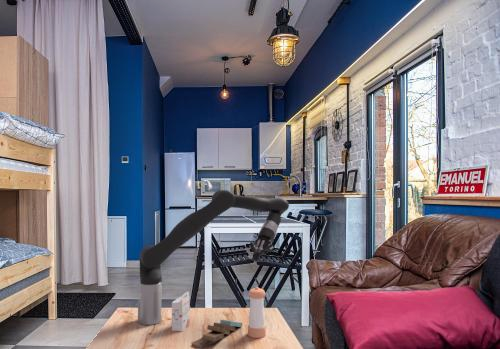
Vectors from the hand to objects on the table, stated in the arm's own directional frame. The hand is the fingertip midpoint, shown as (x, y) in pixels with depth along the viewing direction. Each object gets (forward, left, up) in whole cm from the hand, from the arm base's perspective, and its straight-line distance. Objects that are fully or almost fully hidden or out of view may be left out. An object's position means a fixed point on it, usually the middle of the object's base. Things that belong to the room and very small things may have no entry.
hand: (254, 260), depth 177 cm
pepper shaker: (+7, -20, -26) cm, 33 cm away
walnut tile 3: (-6, -23, -25) cm, 34 cm away
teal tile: (-4, -13, -25) cm, 28 cm away
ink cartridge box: (-26, -23, -26) cm, 43 cm away
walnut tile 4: (-6, -28, -24) cm, 38 cm away
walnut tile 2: (-5, -18, -25) cm, 31 cm away
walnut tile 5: (-8, -29, -26) cm, 40 cm away
